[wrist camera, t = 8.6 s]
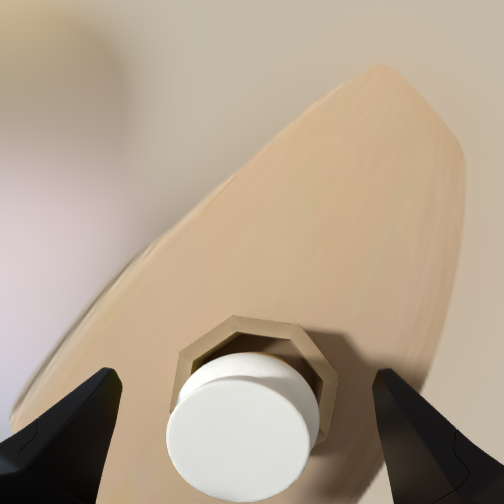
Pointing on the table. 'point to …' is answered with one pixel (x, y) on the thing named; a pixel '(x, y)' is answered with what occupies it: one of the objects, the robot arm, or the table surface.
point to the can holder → (272, 342)
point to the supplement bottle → (243, 427)
